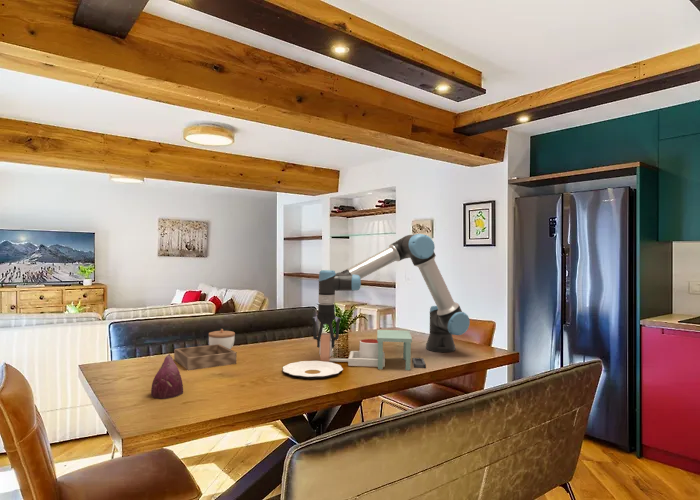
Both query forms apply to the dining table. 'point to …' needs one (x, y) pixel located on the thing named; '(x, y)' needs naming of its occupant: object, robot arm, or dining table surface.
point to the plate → (302, 366)
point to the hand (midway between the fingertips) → (325, 354)
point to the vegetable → (167, 381)
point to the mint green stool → (394, 337)
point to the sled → (353, 356)
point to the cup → (368, 349)
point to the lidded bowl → (222, 338)
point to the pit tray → (418, 363)
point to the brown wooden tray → (204, 356)
